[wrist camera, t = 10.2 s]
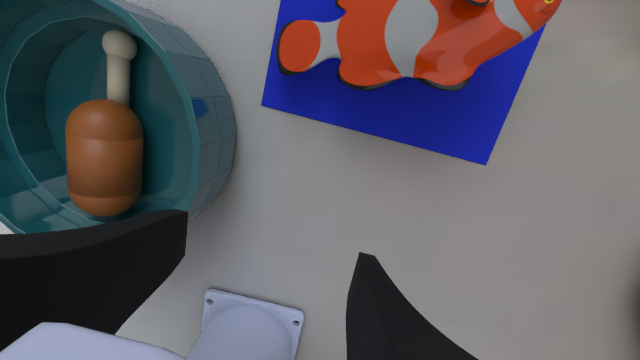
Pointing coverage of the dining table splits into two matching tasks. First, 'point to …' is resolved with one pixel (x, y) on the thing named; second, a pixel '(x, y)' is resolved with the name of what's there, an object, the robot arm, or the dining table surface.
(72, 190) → the drumstick
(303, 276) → the dining table surface
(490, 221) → the dining table surface
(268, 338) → the robot arm
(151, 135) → the teal mixing bowl
